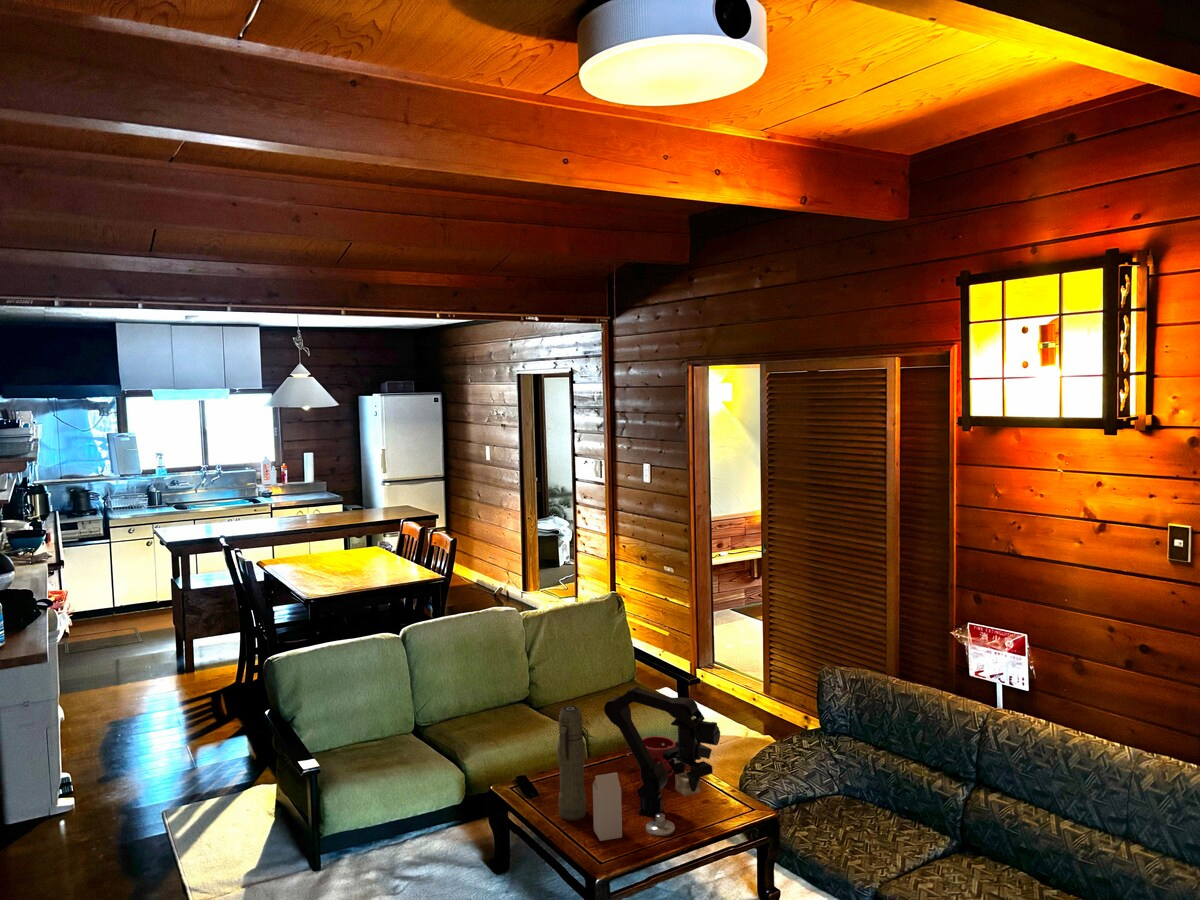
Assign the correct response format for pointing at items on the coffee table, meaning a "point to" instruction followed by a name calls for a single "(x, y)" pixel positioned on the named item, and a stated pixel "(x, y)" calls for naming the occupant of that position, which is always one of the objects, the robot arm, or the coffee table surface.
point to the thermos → (571, 764)
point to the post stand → (660, 826)
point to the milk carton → (607, 807)
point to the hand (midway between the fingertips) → (687, 788)
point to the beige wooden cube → (685, 784)
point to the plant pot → (660, 750)
